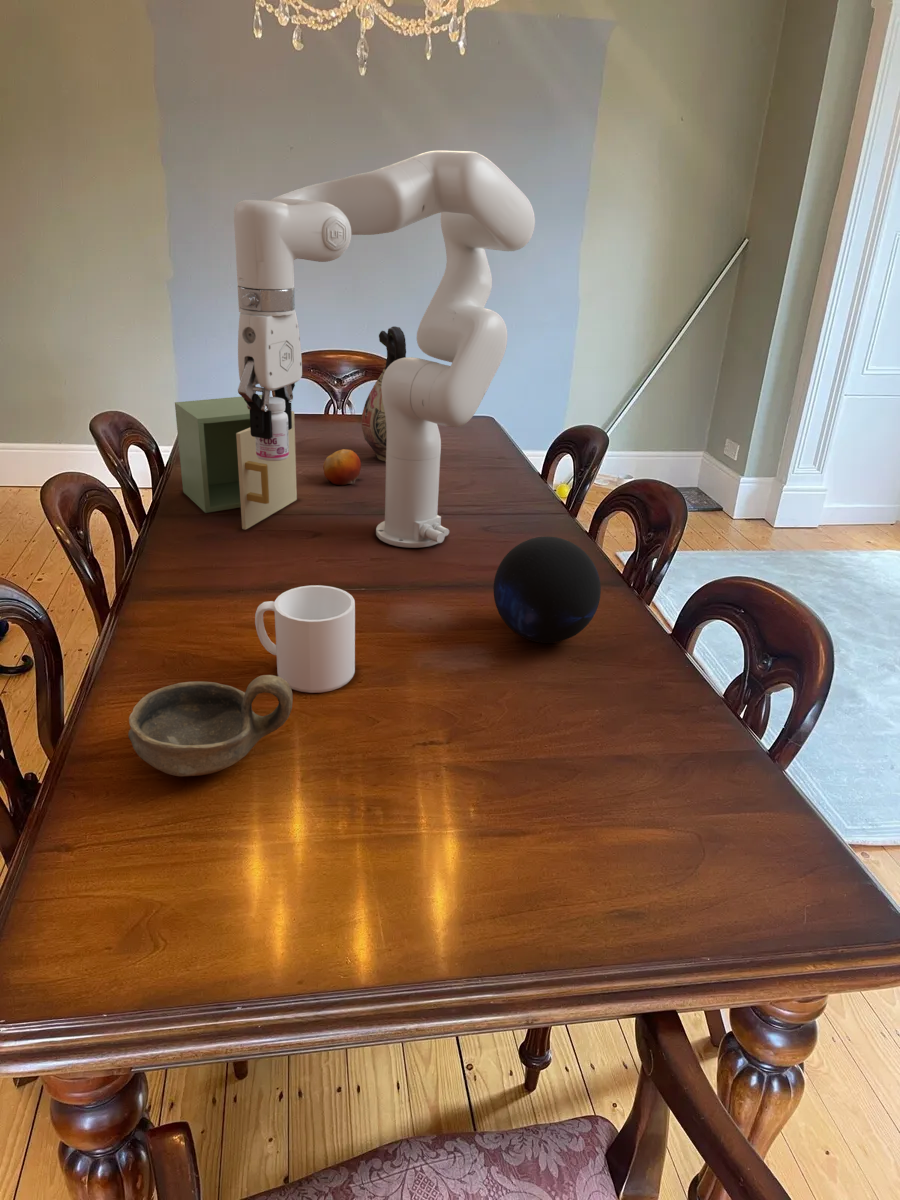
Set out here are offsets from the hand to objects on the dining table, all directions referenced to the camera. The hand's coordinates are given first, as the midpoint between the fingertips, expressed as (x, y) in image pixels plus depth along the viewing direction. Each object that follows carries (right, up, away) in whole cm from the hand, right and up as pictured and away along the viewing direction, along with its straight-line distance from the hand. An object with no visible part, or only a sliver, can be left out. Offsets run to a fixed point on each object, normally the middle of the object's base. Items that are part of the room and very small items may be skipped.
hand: (271, 431), depth 121 cm
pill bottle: (0, -4, +2) cm, 4 cm away
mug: (+7, -34, -12) cm, 37 cm away
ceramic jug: (+13, +8, +73) cm, 74 cm away
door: (-6, -9, +36) cm, 38 cm away
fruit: (+3, 0, +56) cm, 56 cm away
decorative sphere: (+39, -30, 0) cm, 49 cm away
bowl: (0, -42, -29) cm, 51 cm away
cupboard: (-16, -4, +45) cm, 48 cm away
